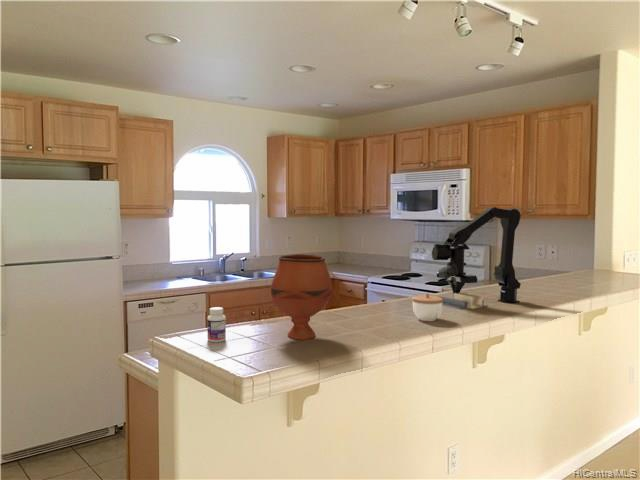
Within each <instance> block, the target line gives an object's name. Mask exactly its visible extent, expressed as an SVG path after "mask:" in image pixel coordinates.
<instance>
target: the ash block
mask: <svg viewBox="0 0 640 480" xmlns="http://www.w3.org/2000/svg"><path fill="white" fill-rule="evenodd" d="M454 299H456V300H460V301H465V302H467V308H466V309H479V308H483V307H482V300H483V295H480V294H479V295H478V294H476V293H475V294H474V293H471V292H470V293H469V292H464V291H463V292H460V293H454Z"/></svg>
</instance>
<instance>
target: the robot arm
mask: <svg viewBox="0 0 640 480" xmlns="http://www.w3.org/2000/svg"><path fill="white" fill-rule="evenodd" d="M494 218H496V219H500V225H501V228H502V238H501V241H502V242H501V249H500V262H499V264H498V266H496V265H495V266H494V274H493V276H494V279H495V280H496V282H497V283H498V286H499V287H500V292H499V293H500V295H499V297H500V298H499V299H497V301H498V302H504V303H507V304H513V303H519V302H520V300H518V298H517V296H518V295H517V293H518V292H517V291H518V290H519V289H520V288H521V282H520V281H519V280H518V279H517V278H516V270H515V268H514V264H513V258H514V247H515V236H516V230H517V228H518V226H519V225H520V221H521V218H522V215H521V212H520V211H519V210H518V209H515V208H499V207H496V206H492V207H491V206H490V207H487V208H486V209H485V210H483V212H481V213H480V214H478V215H477V216H476V217H474V218H472V220H470V221H469V222H467V224H464V225H462V226H460V227H457V228H455V229H453V230H451V231H450V232H449V233H448V237H447V239H446V240H445V241H444V242H443V243H440V244H439V243H434V245H433V248H432V250H431V258H432V259H433V261H448V260H449V261H448V262H447V265H446V266H444V267H441V268H439V269H438V270H437V272H436V278H439V279H442V278H443V279H444V280H445V281H446V282H448V284H449V285H450V288H451V290H452V295H453V294H454V293H461V291H462V289H463V288H464V286H465V284H478V277H477V275H475V274H474V275H473V274H467V272H466V271H465V266H467V262H465V251H466V250H470V247H469V246H468V245H467V244H466V242H467V241H468V240H470V238H471V236H472V234H473V233H474V232H476V231H477V230H479V229H480V228H482V227H483V226H484V225H485V224H487V223H489V222H490V221H491V220H493V219H494Z"/></svg>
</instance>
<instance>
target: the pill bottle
mask: <svg viewBox="0 0 640 480" xmlns="http://www.w3.org/2000/svg"><path fill="white" fill-rule="evenodd" d="M223 313H224V308H223V307H221V306H215V307H214V306H213V307H210V308H209V315H208V316H207V328H206V329H207V341H208V342H209V343H222V342H224V341H225V340H226V339H227V338H226V337H227V336H226V335H227V333H226V332H227V330H226V322H227V320H226V319H227V318H226V315H224V314H223Z"/></svg>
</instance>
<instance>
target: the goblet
mask: <svg viewBox="0 0 640 480" xmlns="http://www.w3.org/2000/svg"><path fill="white" fill-rule="evenodd" d="M325 258H326V257H324V256H320V255H314V254H305V253H304V254H303V253H302V254H301V253H300V254H297V253H296V254H289V255H288V254H287V255H281V256H279V257H278V264H277V268H276V271H275V273H274V275H273V279H272V282H271V286H270V295H271V298H272V300H273V303H274V304H275V305H276V307H277V308H278V309H279V310H280V311H281V312H283V314H285V315H286V316H288V317H290V319H291V322H292V323H293V325H292V327H291V328H290V330H289V331H288V332H287V337H288V338H290V339H294V340H309V339H313V338H315V337H316V332H315V331H314V329H313V327H311V326H310V325H309V322H310V321H311V318H312V317H313V316H314V315H316V314H317V313H319V312H321V311H322V310H323V309H324V307H326V305H327V304H328V303H329V302H330V300H331V299H330V298H331V296H332V291H333V283H332V278H331V275H330V272H329V269H328V267H327V263H326V259H325Z"/></svg>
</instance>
